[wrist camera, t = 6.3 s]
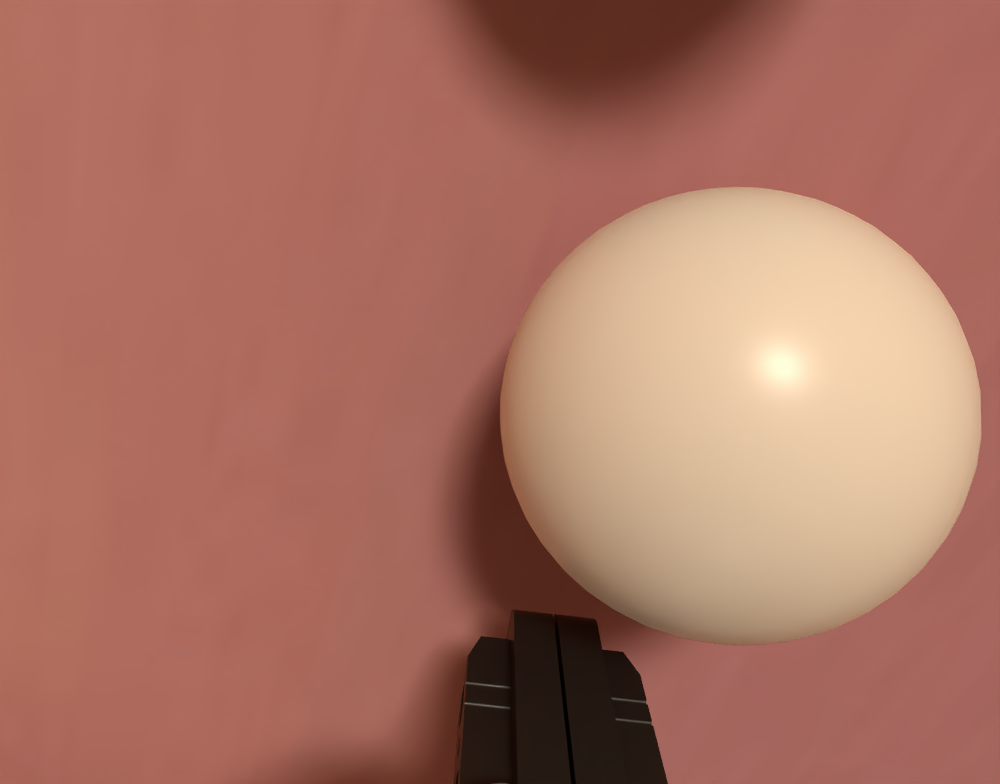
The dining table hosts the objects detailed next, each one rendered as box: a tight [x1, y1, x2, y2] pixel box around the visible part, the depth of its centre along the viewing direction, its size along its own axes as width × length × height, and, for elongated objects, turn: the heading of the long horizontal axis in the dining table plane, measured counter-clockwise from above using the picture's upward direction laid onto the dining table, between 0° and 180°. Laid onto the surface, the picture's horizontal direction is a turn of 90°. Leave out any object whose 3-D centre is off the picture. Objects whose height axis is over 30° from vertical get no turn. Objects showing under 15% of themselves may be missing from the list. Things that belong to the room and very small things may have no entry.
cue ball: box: [500, 187, 981, 646], centre depth 10 cm, size 6×6×6 cm
